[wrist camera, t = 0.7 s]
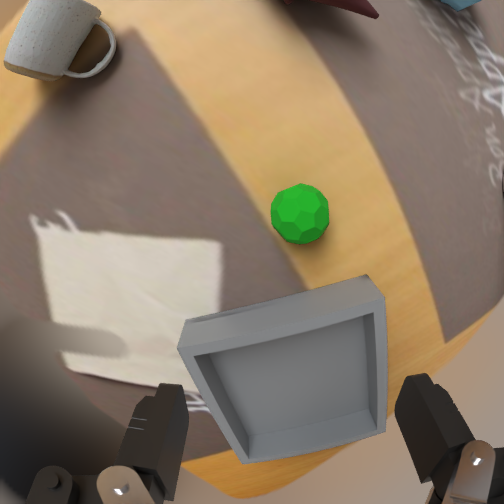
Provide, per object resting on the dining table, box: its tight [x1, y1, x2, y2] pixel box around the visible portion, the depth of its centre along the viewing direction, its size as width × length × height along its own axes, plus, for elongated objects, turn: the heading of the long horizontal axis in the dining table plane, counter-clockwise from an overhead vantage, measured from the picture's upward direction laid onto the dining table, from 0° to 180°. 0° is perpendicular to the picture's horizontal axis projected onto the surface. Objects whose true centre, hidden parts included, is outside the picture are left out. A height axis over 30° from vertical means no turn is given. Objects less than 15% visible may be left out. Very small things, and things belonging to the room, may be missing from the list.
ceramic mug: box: [4, 0, 116, 81], centre depth 18 cm, size 11×8×8 cm
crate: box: [177, 274, 388, 464], centre depth 32 cm, size 19×21×5 cm
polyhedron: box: [271, 183, 329, 244], centre depth 26 cm, size 5×5×5 cm
